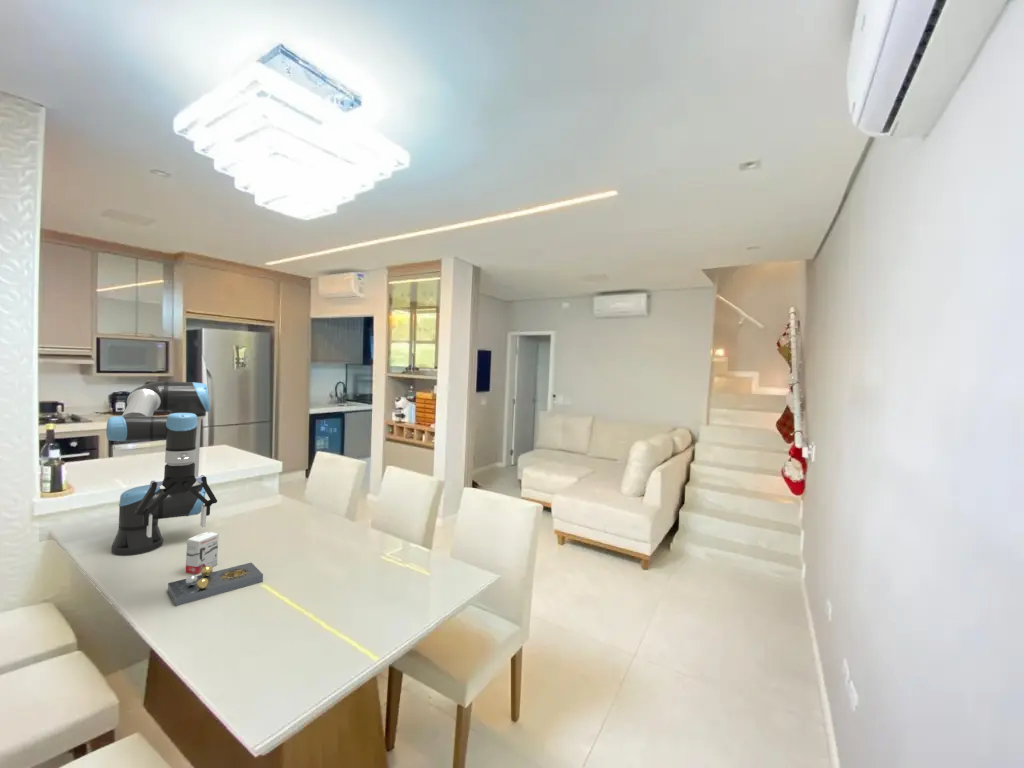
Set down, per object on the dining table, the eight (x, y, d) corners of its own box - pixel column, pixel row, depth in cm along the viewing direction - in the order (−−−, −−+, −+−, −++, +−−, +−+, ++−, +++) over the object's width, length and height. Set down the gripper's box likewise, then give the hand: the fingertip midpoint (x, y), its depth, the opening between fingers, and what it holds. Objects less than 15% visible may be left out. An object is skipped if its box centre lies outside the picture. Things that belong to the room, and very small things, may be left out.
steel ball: (184, 585, 139) (184, 575, 139) (196, 581, 142) (196, 572, 141) (186, 588, 137) (187, 578, 137) (198, 585, 139) (199, 575, 139)
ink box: (196, 575, 151) (198, 541, 151) (184, 572, 152) (186, 539, 152) (217, 564, 159) (219, 532, 159) (206, 562, 160) (208, 530, 160)
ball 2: (195, 588, 138) (195, 578, 138) (207, 584, 140) (207, 575, 140) (197, 592, 136) (198, 581, 136) (209, 588, 138) (210, 578, 138)
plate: (175, 606, 132) (176, 598, 132) (167, 590, 140) (168, 583, 140) (262, 581, 149) (263, 574, 149) (251, 569, 157) (251, 562, 157)
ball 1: (199, 575, 146) (200, 566, 146) (210, 572, 148) (211, 563, 148) (202, 578, 144) (202, 569, 144) (213, 576, 146) (213, 566, 146)
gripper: (129, 470, 123) (125, 544, 124) (230, 460, 142) (226, 525, 142) (124, 465, 128) (121, 536, 129) (223, 457, 147) (219, 519, 147)
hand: (177, 531), depth 136 cm, fingers open, 13 cm apart
